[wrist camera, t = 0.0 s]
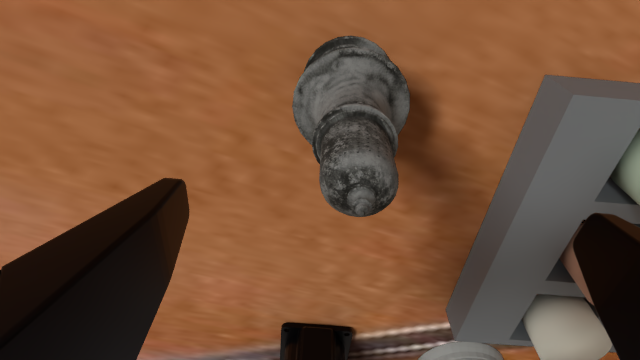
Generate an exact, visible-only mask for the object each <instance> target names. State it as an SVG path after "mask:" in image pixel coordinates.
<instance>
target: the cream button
mask: <svg viewBox="0 0 640 360" xmlns="http://www.w3.org/2000/svg"><path fill="white" fill-rule="evenodd" d="M521 320H522V322H523V324H524V326H525V329H526V331H527V333H528V335H529V337H530V339H531V341H532V343H533V345H534V347H535V349H536V351H537V353H538V356H539V358H540V360H599V359H600V358H602V357H603V356H605V355H606V354H607V353H608V352H609V350H610V349H611V347H612V343H611V340H610V338H609V336H608V334H607V332H606V330H605V328H604V327H603V325H602V324H601V322H600V321H599V320H598V318H597V317H596V315H595V314H594V312H593V311H592V309H591V308H590V306H589V305H588V303H587V302H586V300H585V299H584V297H572V296H559V295H546V294H538V295H536V296H535V298H534V300H533V301H532V303H531V305H530V306H529V308H528V309H527V311H526V313H525V314H524V316H523V318H522V319H521Z"/></svg>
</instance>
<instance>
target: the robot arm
mask: <svg viewBox="0 0 640 360" xmlns="http://www.w3.org/2000/svg"><path fill="white" fill-rule="evenodd" d="M188 219H189V204H188V197H187V190H186V184H185V182H184V181H183V180H182V179H173V178H163V179H161V180H159V181H158V182H156V183H154V184H152V185H150V186H149V187H147V188H145V189H143V190H141V191H139V192H138V193H136V194H134V195H132V196H130V197H128V198H127V199H125V200H123V201H121V202H119V203H118V204H116V205H114V206H112V207H110V208H108V209H107V210H105V211H103V212H101V213H99V214H97V215H96V216H94V217H92V218H90V219H88V220H87V221H85V222H83V223H81V224H79V225H77V226H76V227H74V228H72V229H70V230H68V231H66V232H65V233H63V234H61V235H59V236H57V237H56V238H54V239H52V240H50V241H48V242H46V243H45V244H43V245H41V246H39V247H37V248H35V249H34V250H32V251H30V252H28V253H26V254H24V255H23V256H21V257H19V258H17V259H15V260H14V261H12V262H10V263H8V264H6V265H4V266H3V267H2V269H1V270H0V360H136V359H137V357H138V354H139V352H140V350H141V347H142V345H143V343H144V341H145V338H146V336H147V334H148V331H149V329H150V327H151V324H152V322H153V320H154V317H155V315H156V313H157V310H158V308H159V306H160V303H161V301H162V299H163V297H164V294H165V292H166V290H167V287H168V285H169V282H170V280H171V276H172V273H173V270H174V267H175V264H176V260H177V257H178V253H179V250H180V247H181V243H182V240H183V236H184V233H185V230H186V226H187V223H188ZM573 251H574V253H575V256H576V259H577V261H578V264H579V267H580V270H581V272H582V275H583V278H584V280H585V283H586V286H587V288H588V291H589V294H590V296H591V299H592V302H593V304H594V307H595V309H596V311H597V314H598V316H599V318H600V320H601V322H602V324H603V326H604V328H605V330H606V332H607V334H608V336H609V338H610V340H611V343H612V345H613V347H614V349H615V351H616V353H617V355H618V357H619V359H620V360H640V227H638V226H636V225H634V224H632V223H630V222H628V221H626V220H624V219H622V218H620V217H618V216H616V215H613V214H606V213H593V214H591V215H590V216H588V218H587V219H586V221H585V222H584V224H583V225H582V227H581V229H580V230H579V232H578V233H577V235H576V237H575V238H574V241H573ZM351 339H352V329H351V328H348V327H335V326H321V325H307V324H293V323H284V324H283V325H282V329H281V350H280V360H347V357H348V353H349V348H350V344H351Z"/></svg>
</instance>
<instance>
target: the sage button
mask: <svg viewBox="0 0 640 360" xmlns="http://www.w3.org/2000/svg"><path fill="white" fill-rule="evenodd" d="M610 176H611V178H612V180H613V181H614V182H615V183H616V184H617V185H618V186H619V187H620V188H621V189H622V190H623V191H624V192H625V193H626V194H628V195H629V196H630V197H631V198H632V199H633V200H634V201H635V202H636V203H637V204H639V205H640V130H638V131H637V133H636V134H635V136H634V138H633V139H632V141H631V143H630V144H629V146H628V147H627V149H626V151H625V152H624V154H623V156H622V157H621V159H620V160H619V162H618V164H617V165H616V167H615V168H614V170H613V172H612V173H611V175H610Z"/></svg>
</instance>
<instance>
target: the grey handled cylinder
mask: <svg viewBox="0 0 640 360" xmlns="http://www.w3.org/2000/svg"><path fill="white" fill-rule="evenodd" d="M418 360H503V357H502V355H501V354H500V352H499V351H498V350H496V349H495V348H493V347H491V346H489V345H486V344H483V343H477V342H454V343H448V344H444V345H441V346H438V347H435V348H433V349H431V350H429V351H427V352H426V353H424V354H423V355H422V356H421V357H420V358H419V359H418Z"/></svg>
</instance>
